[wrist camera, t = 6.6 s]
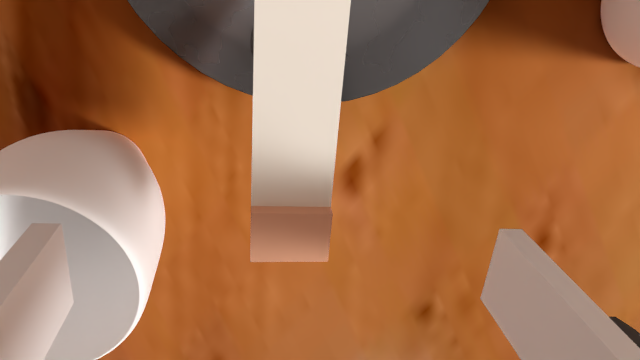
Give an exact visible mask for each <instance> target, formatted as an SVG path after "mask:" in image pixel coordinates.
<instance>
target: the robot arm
mask: <svg viewBox="0 0 640 360" xmlns="http://www.w3.org/2000/svg"><path fill="white" fill-rule="evenodd" d="M480 299H481V300H482V302H483V303H484V305H485V306H486V308H487V309H488V311H489V312H490V314H491V315H492V317H493V318H494V320H495V321H496V323H497V324H498V326H499V327H500V329H501V330H502V332H503V333H504V335H505V336H506V338H507V339H508V341H509V342H510V344H511V345H512V347H513V348H514V350H515V351H516V353H517V354H518V356H519V357H520V359H521V360H640V334H639V333H638V332H637V331H636V330H635V329H633V328H632V327H630V326H629V325H627V324H626V323H624V322H623V321H621V320H619V319H618V318H616V317H608V316H607V315H606V314H605V313H604V312H603V311H602V310H601V309H600V308H599V307H598V306H597V305H596V304H595V303H594V302H593V301H592V300H591V299H590V298H589V297H588V296H587V295H586V294H585V293H584V292H583V291H582V290H581V289H580V288H579V286H578V285H577V284H576V283H575V282H574V281H573V280H572V279H571V278H570V277H569V276H568V275H567V274H566V273H565V272H564V271H563V270H562V269H561V268H560V267H559V266H558V265H557V264H556V263H555V262H554V261H553V260H552V259H551V258H550V257H549V256H548V255H547V254H546V253H545V252H544V251H543V250H542V249H541V248H540V247H539V246H538V245H537V244H536V243H535V242H534V241H533V240H532V239H531V238H530V237H529V236H528V235H527V234H526V233H525V232H524V231H523V230H522V229H499V233H498V237H497V240H496V244H495V248H494V251H493V255H492V258H491V262H490V266H489V269H488V273H487V277H486V280H485V284H484V288H483V291H482V295H481V298H480ZM73 303H74V300H73V294H72V287H71V281H70V275H69V268H68V262H67V256H66V249H65V243H64V237H63V230H62V224H61V223H32V224H31V225H30V226H29V227H28V228H27V230H26V231H25V232H24V233H23V234H22V235H21V237H20V238H19V239H18V240H17V241H16V242H15V244H14V245H13V246H12V247H11V248H10V249H9V251H8V252H7V253H6V254H5V255H4V256H3V258H2V259H1V260H0V360H44V358H45V356H46V354H47V352H48V350H49V349H50V347H51V345H52V343H53V341H54V339H55V337H56V335H57V334H58V332H59V330H60V328H61V326H62V324H63V322H64V320H65V319H66V317H67V315H68V313H69V311H70V309H71V307H72V305H73Z"/></svg>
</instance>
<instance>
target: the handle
mask: <svg viewBox="0 0 640 360" xmlns="http://www.w3.org/2000/svg"><path fill="white" fill-rule="evenodd" d="M350 5H351V0H254V61H253V124H252V187H251V246H250V262H328V255H329V245H330V235H331V225H332V215H333V214H332V210H331V198H332V188H333V178H334V168H335V157H336V147H337V137H338V127H339V117H340V106H341V96H342V86H343V76H344V66H345V56H346V45H347V35H348V25H349V15H350Z"/></svg>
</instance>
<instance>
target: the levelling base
mask: <svg viewBox="0 0 640 360" xmlns="http://www.w3.org/2000/svg"><path fill="white" fill-rule="evenodd" d="M127 1H128V2H129V3H130V5H131V6H132V8H133V9H134V11H135V12H136V13H137V15H138V16H139V17H140V18H141V19H142V20H143V21H144V23H145V24H146V25H147V26H148V27H149V28H150V29H151V30H152V32H153V33H154V34H155V35H156V36H157V37H158V38H159V39H160V40H161V41H162V42H163V43H165V44H166V45H167V46H168V47H169V48H170V49H171V50H172V51H174V52H175V53H176V54H177V55H178V56H179V57H181V58H182V59H183V60H185V61H186V62H188V63H189V64H191V65H192V66H193V67H195V68H196V69H198V70H199V71H201V72H202V73H204V74H206V75H207V76H209V77H211V78H213V79H215V80H217V81H219V82H221V83H222V84H224V85H226V86H229V87H231V88H234V89H236V90H239V91H242V92H244V93H247V94H249V95H253V61H254V0H127ZM488 2H489V0H351V5H350V15H349V25H348V35H347V45H346V56H345V66H344V76H343V86H342V96H341V101H349V100H353V99H356V98H360V97H364V96H367V95H371V94H374V93H377V92H379V91H382V90H384V89H387V88H389V87H391V86H394V85H396V84H398V83H400V82H402V81H403V80H405V79H407V78H409V77H411V76H412V75H414V74H416V73H418V72H419V71H421V70H422V69H423V68H425V67H426V66H428V65H429V64H430V63H432V62H433V61H434V60H436V59H437V58H439V57H440V56H441V55H442V54H443V53H444V52H445V51H446V50H447V49H449V48H450V47H451V46H452V45H453V44H454V43H455V42H456V41H457V40H458V39H459V38H460V37H461V36H462V35H463V34H464V33H465V31H466V30H467V29H468V28H469V27H470V26H471V25H472V23H473V22H474V21H475V20H476V19H477V18H478V16H479V15H480V13H481V12H482V10H483V9H484V8H485V6H486V5H487V3H488Z"/></svg>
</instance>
